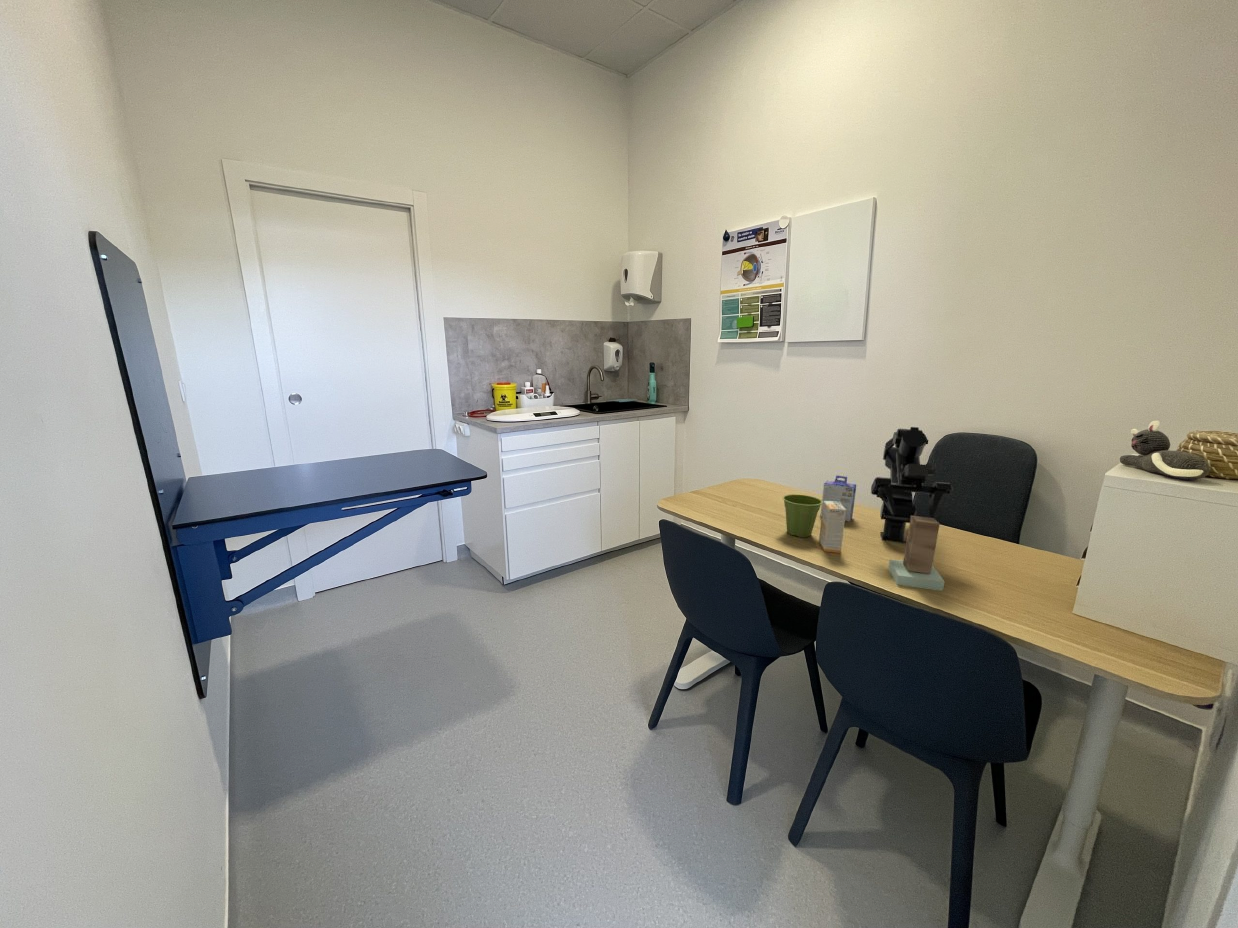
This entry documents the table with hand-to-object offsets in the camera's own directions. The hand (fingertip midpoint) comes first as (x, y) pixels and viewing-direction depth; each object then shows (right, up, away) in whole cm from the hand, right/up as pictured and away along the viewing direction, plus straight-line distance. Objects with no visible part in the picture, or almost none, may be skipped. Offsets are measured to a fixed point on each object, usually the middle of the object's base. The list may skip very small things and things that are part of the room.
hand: (912, 516), depth 130 cm
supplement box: (-17, -11, +13) cm, 24 cm away
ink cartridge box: (-3, -5, +39) cm, 40 cm away
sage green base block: (-3, -16, -6) cm, 17 cm away
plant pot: (-22, -8, +24) cm, 33 cm away
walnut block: (-3, -13, -6) cm, 14 cm away
